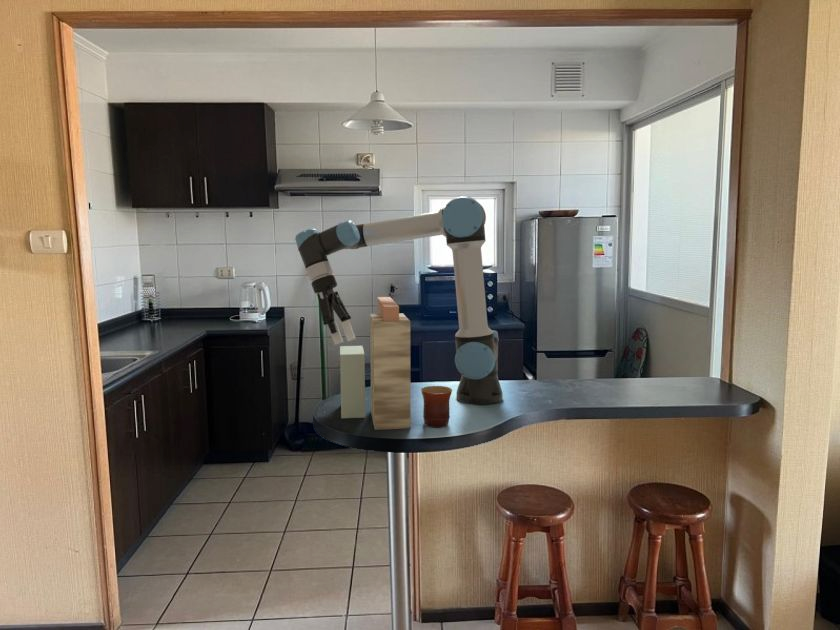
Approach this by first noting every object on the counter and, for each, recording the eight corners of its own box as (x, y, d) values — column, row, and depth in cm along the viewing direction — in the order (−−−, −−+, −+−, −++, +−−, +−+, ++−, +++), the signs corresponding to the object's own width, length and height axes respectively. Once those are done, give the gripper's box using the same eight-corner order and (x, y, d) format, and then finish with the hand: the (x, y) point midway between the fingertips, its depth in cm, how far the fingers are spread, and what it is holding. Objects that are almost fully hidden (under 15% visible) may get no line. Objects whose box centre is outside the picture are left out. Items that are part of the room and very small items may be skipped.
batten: (377, 309, 191) (377, 297, 190) (390, 309, 191) (390, 296, 191) (384, 321, 163) (384, 306, 163) (399, 321, 164) (398, 306, 163)
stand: (370, 411, 183) (369, 313, 179) (403, 410, 185) (403, 313, 181) (374, 429, 166) (373, 322, 162) (410, 428, 167) (410, 321, 163)
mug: (456, 427, 168) (457, 391, 166) (427, 431, 164) (427, 394, 163) (440, 415, 179) (440, 382, 177) (412, 418, 176) (412, 384, 174)
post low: (340, 405, 190) (340, 346, 187) (363, 404, 191) (362, 345, 188) (341, 418, 176) (340, 354, 174) (365, 417, 177) (364, 354, 175)
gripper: (324, 283, 201) (346, 342, 200) (296, 281, 176) (321, 349, 176) (344, 275, 200) (366, 334, 199) (319, 272, 175) (344, 340, 174)
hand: (345, 341), depth 187 cm, fingers open, 13 cm apart
